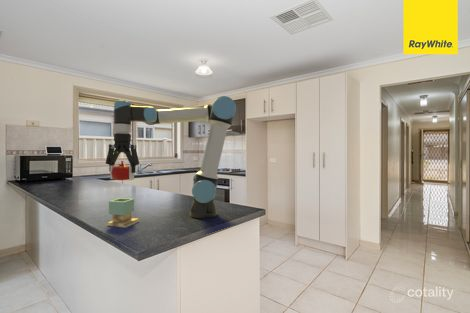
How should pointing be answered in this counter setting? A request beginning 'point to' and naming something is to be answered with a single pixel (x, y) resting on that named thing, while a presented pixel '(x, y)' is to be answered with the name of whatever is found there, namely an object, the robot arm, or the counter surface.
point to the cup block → (121, 206)
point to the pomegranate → (120, 172)
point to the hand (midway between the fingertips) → (122, 179)
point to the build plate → (133, 220)
